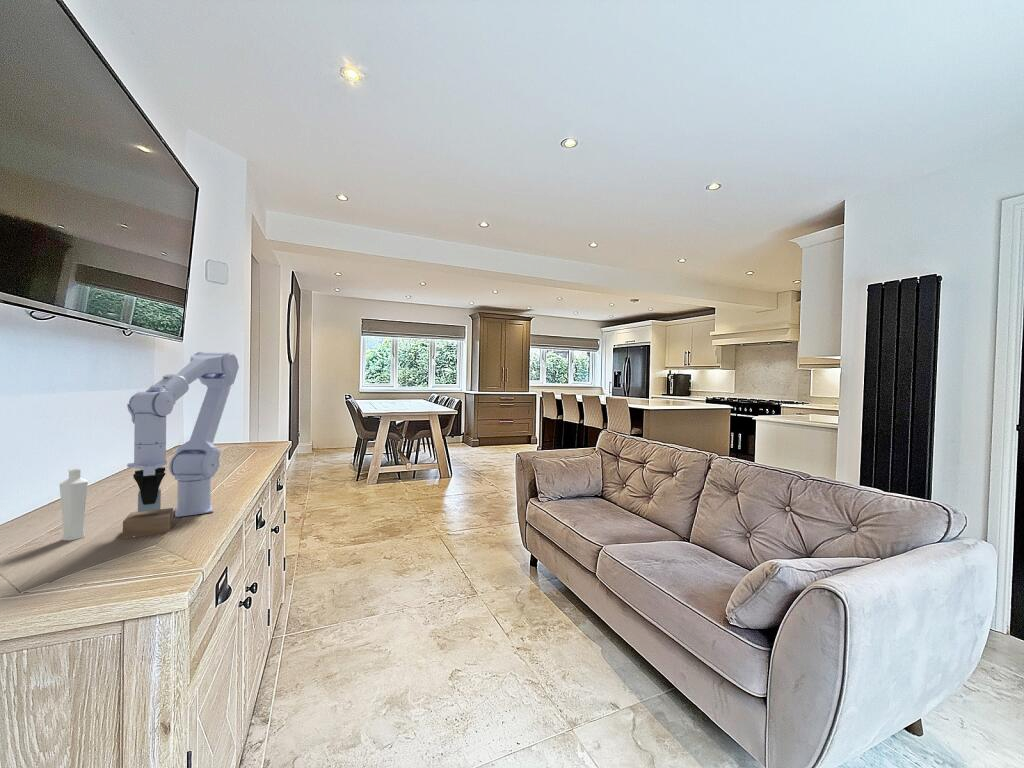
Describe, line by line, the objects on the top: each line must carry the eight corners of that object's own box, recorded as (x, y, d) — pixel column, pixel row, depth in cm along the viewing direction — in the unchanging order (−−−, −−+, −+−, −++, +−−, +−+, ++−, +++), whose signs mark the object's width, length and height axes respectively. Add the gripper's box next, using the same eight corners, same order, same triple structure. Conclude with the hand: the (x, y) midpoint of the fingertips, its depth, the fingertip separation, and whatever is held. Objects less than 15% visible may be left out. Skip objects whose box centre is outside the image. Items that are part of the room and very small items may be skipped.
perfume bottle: (82, 532, 101) (83, 466, 101) (91, 536, 99) (92, 468, 99) (55, 539, 96) (56, 470, 96) (64, 542, 94) (65, 472, 95)
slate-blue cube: (138, 508, 103) (138, 491, 103) (160, 505, 106) (160, 488, 106) (137, 512, 100) (138, 494, 100) (160, 509, 102) (160, 492, 102)
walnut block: (130, 529, 104) (130, 512, 104) (173, 524, 108) (173, 507, 108) (122, 539, 97) (122, 521, 97) (168, 533, 101) (168, 516, 101)
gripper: (129, 441, 106) (128, 497, 106) (125, 448, 95) (124, 511, 95) (166, 439, 110) (166, 493, 110) (167, 445, 99) (166, 506, 99)
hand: (149, 501), depth 103 cm, fingers closed on slate-blue cube, 4 cm apart
